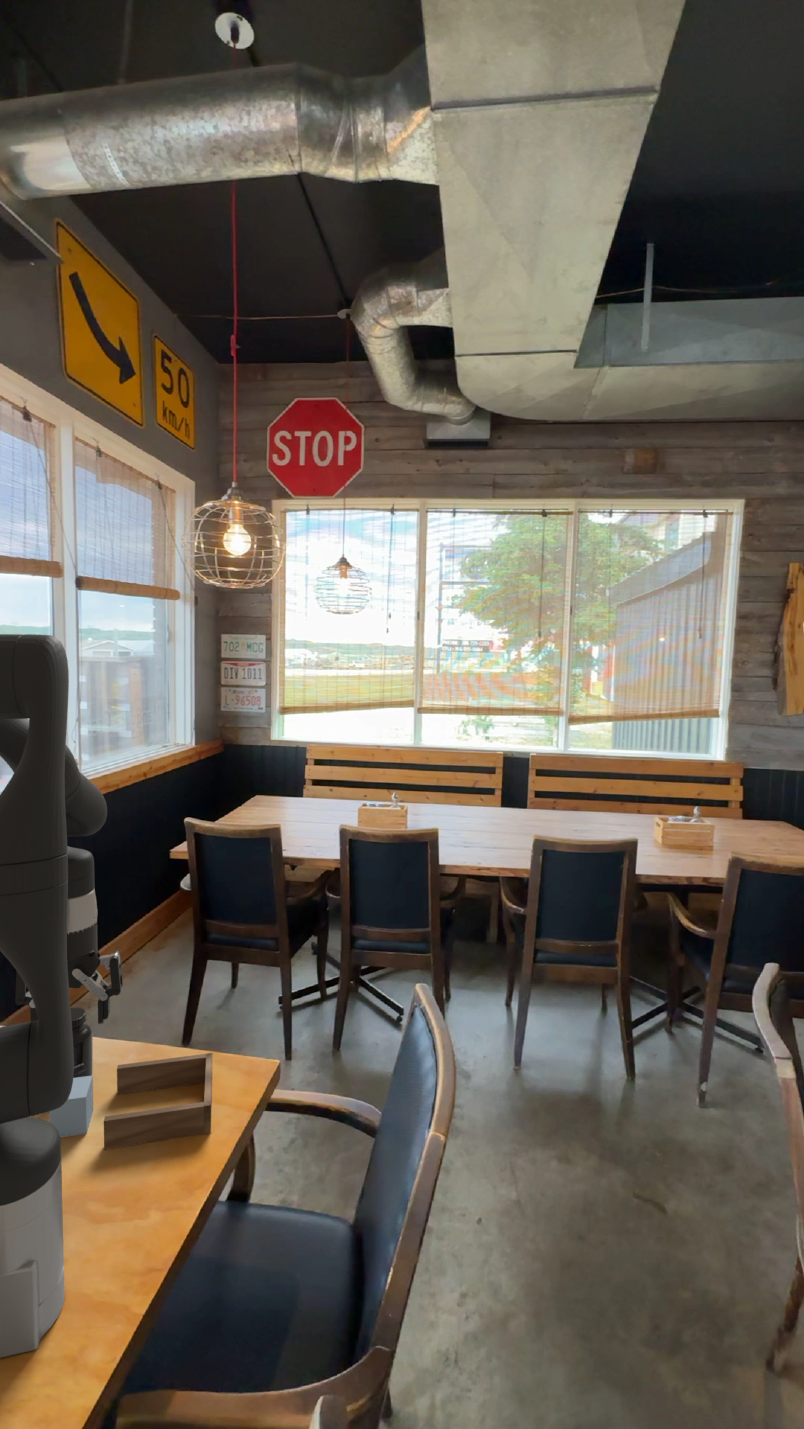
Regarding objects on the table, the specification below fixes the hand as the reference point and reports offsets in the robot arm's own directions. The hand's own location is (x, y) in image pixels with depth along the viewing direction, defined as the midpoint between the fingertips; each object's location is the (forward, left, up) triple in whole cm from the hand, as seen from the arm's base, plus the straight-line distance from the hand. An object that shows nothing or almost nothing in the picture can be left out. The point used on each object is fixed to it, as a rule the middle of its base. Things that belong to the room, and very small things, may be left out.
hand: (71, 1024), depth 98 cm
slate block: (0, 0, -16) cm, 16 cm away
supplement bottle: (+11, +3, -17) cm, 20 cm away
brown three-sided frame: (0, -13, -16) cm, 21 cm away
